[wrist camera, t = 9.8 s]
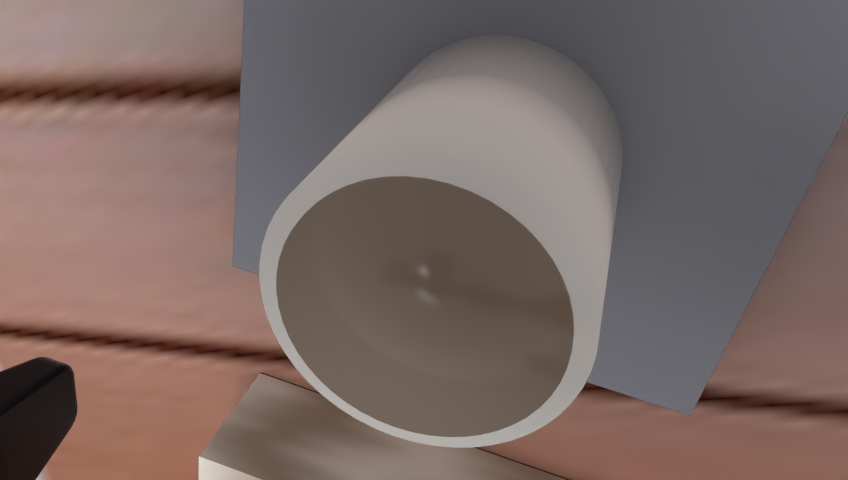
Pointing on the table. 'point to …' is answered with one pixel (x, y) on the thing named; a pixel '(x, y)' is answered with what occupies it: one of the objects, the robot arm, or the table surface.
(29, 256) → the table surface
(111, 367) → the table surface
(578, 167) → the pot
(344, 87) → the mat
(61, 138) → the table surface
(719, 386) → the table surface
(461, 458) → the beige square frame
